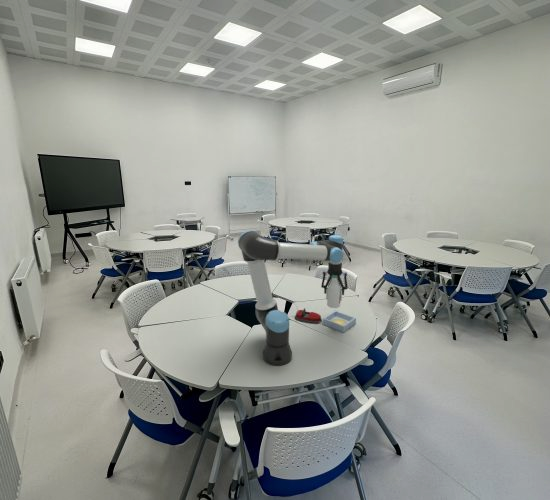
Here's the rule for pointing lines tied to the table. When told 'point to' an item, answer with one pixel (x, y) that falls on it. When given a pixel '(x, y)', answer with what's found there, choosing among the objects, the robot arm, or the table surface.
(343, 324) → the blue square tray
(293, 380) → the table surface
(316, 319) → the bumper car
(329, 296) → the milk bottle
